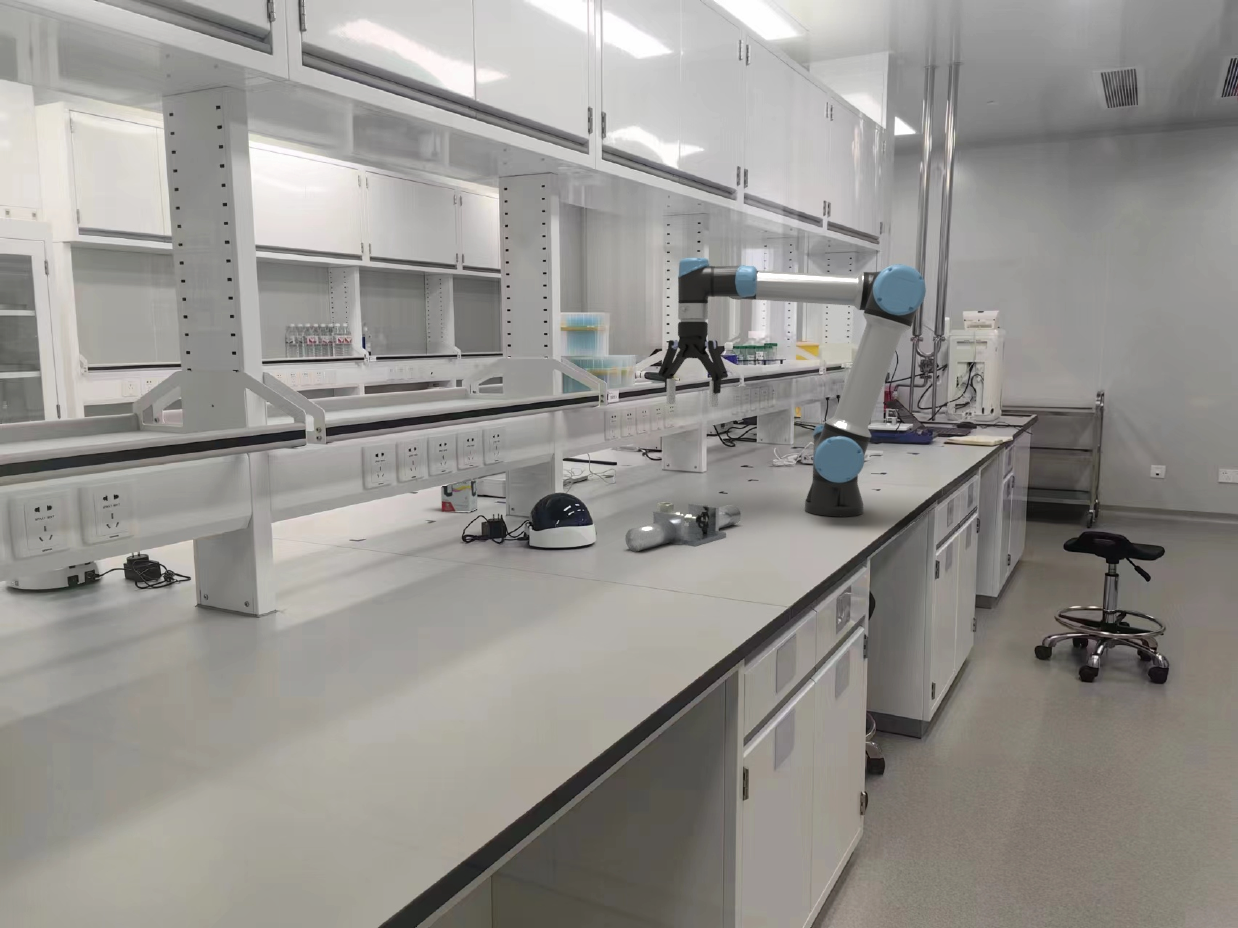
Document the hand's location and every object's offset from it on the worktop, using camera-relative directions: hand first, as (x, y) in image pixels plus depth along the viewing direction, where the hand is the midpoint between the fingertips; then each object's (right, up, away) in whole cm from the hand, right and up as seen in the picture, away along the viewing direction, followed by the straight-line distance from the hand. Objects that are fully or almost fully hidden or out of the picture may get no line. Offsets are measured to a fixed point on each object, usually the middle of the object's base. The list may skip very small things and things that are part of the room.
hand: (691, 405), depth 225 cm
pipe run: (-3, -32, -20) cm, 38 cm away
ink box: (-61, -28, +11) cm, 68 cm away
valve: (-4, -31, -19) cm, 37 cm away
